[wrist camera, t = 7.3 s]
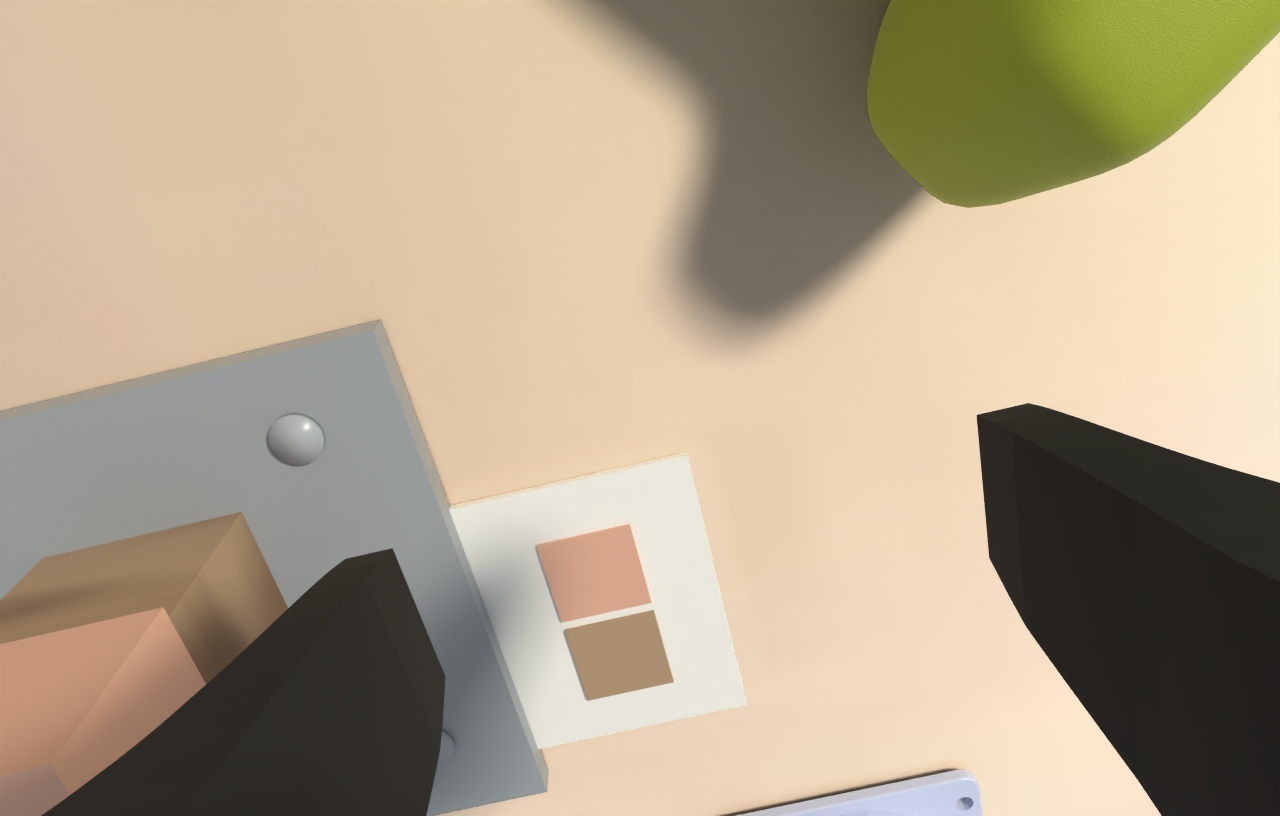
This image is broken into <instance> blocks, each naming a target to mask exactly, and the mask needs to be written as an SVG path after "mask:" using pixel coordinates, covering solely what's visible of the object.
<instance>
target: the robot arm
mask: <svg viewBox="0 0 1280 816" xmlns="http://www.w3.org/2000/svg"><path fill="white" fill-rule="evenodd" d="M977 424H978V435H979V446H980V458H981V469H982V480H983V491H984V503H985V514H986V525H987V536H988V548H989V558H990V560H991V562H992V564H993V566H994V568H995V570H996V571H997V573H998V575H999V577H1000V579H1001V581H1002V583H1003V585H1004V587H1005V589H1006V591H1007V593H1008V595H1009V597H1010V598H1011V600H1012V602H1013V604H1014V606H1015V607H1016V609H1017V611H1018V613H1019V615H1020V616H1021V618H1022V620H1023V622H1024V624H1025V625H1026V627H1027V628H1028V630H1029V631H1030V633H1031V634H1032V635H1033V637H1034V638H1035V640H1036V641H1037V643H1038V644H1039V645H1040V647H1041V648H1042V650H1043V651H1044V652H1045V654H1046V655H1047V656H1048V658H1049V659H1050V661H1051V662H1052V663H1053V665H1054V666H1055V668H1056V669H1057V670H1058V672H1059V673H1060V674H1061V676H1062V677H1063V679H1064V680H1065V681H1066V683H1067V684H1068V685H1069V687H1070V688H1071V690H1072V691H1073V692H1074V694H1075V695H1076V696H1077V698H1078V699H1079V700H1080V702H1081V703H1082V705H1083V706H1084V707H1085V709H1086V710H1087V711H1088V713H1089V714H1090V715H1091V717H1092V718H1093V719H1094V721H1095V722H1096V724H1097V725H1098V726H1099V728H1100V729H1101V730H1102V732H1103V733H1104V734H1105V736H1106V737H1107V739H1108V740H1109V741H1110V743H1111V744H1112V745H1113V747H1114V748H1115V749H1116V751H1117V752H1118V754H1119V755H1120V756H1121V758H1122V759H1123V760H1124V762H1125V763H1126V764H1127V766H1128V767H1129V769H1130V770H1131V771H1132V773H1133V774H1134V775H1135V777H1136V778H1137V779H1138V781H1139V782H1140V784H1141V785H1142V787H1143V788H1144V790H1145V791H1146V793H1147V794H1148V796H1149V797H1150V799H1151V800H1152V802H1153V803H1154V805H1155V806H1156V808H1157V809H1158V811H1159V812H1160V814H1161V815H1162V816H1280V483H1278V482H1275V481H1271V480H1268V479H1264V478H1261V477H1257V476H1254V475H1250V474H1247V473H1243V472H1240V471H1236V470H1233V469H1229V468H1226V467H1222V466H1219V465H1216V464H1213V463H1210V462H1206V461H1203V460H1200V459H1197V458H1194V457H1191V456H1188V455H1184V454H1181V453H1178V452H1175V451H1172V450H1169V449H1166V448H1163V447H1160V446H1157V445H1155V444H1152V443H1149V442H1146V441H1143V440H1140V439H1137V438H1134V437H1131V436H1128V435H1125V434H1123V433H1120V432H1117V431H1114V430H1111V429H1108V428H1105V427H1103V426H1100V425H1097V424H1094V423H1091V422H1088V421H1085V420H1083V419H1080V418H1077V417H1074V416H1071V415H1068V414H1065V413H1062V412H1059V411H1055V410H1052V409H1049V408H1045V407H1042V406H1038V405H1034V404H1029V403H1028V404H1023V405H1019V406H1014V407H1010V408H1006V409H1001V410H997V411H992V412H988V413H984V414H979V415H977ZM445 678H446V677H445V674H444V672H443V669H442V667H441V665H440V662H439V660H438V657H437V655H436V652H435V650H434V648H433V645H432V643H431V640H430V638H429V635H428V633H427V631H426V628H425V626H424V623H423V621H422V618H421V616H420V614H419V611H418V609H417V606H416V604H415V601H414V599H413V597H412V594H411V592H410V589H409V587H408V584H407V582H406V580H405V577H404V575H403V572H402V570H401V567H400V565H399V563H398V560H397V558H396V555H395V553H394V550H393V548H391V549H386V550H382V551H378V552H373V553H369V554H364V555H360V556H356V557H351V558H347V559H344V560H343V561H342V562H340V563H339V564H338V565H336V566H335V567H334V568H332V569H331V570H330V571H329V572H328V573H326V574H325V575H324V576H323V577H322V578H321V579H320V580H318V581H317V582H316V583H315V584H314V585H313V586H312V587H311V588H310V589H308V590H307V591H306V592H305V593H304V594H303V595H302V596H301V597H300V598H299V599H298V600H297V601H296V602H294V603H293V604H292V605H291V606H290V607H289V608H288V609H287V610H286V611H285V612H284V613H283V614H282V615H281V616H280V617H279V618H278V619H277V620H275V621H274V622H273V623H272V624H271V625H270V626H269V627H268V628H267V629H266V630H265V631H264V632H263V633H262V634H261V635H260V636H258V637H257V638H256V639H255V640H254V641H253V642H252V643H251V644H250V645H249V646H248V647H247V648H246V649H245V650H244V651H243V652H241V653H240V654H239V655H238V656H237V657H236V658H235V659H234V660H233V661H232V662H231V663H230V664H229V665H228V666H226V667H225V668H224V669H223V670H222V671H221V672H220V673H218V674H217V675H216V676H215V677H214V678H213V679H212V680H211V681H209V682H208V683H207V684H206V685H205V686H204V687H203V688H201V689H200V690H199V691H198V692H197V693H196V694H195V695H193V696H192V697H191V698H190V699H189V700H188V701H187V702H186V703H184V704H183V705H182V706H181V707H180V708H179V709H178V710H176V711H175V712H174V713H173V714H172V715H171V716H170V717H168V718H167V719H166V720H165V721H164V722H163V723H162V724H160V725H159V726H158V727H157V728H156V729H154V730H153V731H152V732H151V733H150V734H148V735H147V736H146V737H145V738H144V739H142V740H141V741H140V742H139V743H137V744H136V745H135V746H134V747H132V748H131V749H130V750H129V751H127V752H126V753H125V754H124V755H122V756H121V757H120V758H119V759H117V760H116V761H115V762H113V763H112V764H111V765H109V766H108V767H107V768H105V769H104V770H103V771H101V772H100V773H99V774H97V775H96V776H95V777H93V778H92V779H91V780H89V781H88V782H87V783H85V784H84V785H83V786H81V787H80V788H79V789H78V790H76V791H75V792H74V793H72V794H71V795H69V796H68V797H67V798H65V799H64V800H63V801H61V802H60V803H58V804H57V805H56V806H54V807H53V808H51V809H50V810H49V811H47V812H46V813H44V814H43V815H41V816H426V815H427V811H428V806H429V801H430V797H431V792H432V788H433V783H434V778H435V774H436V769H437V764H438V759H439V754H440V746H441V735H442V724H443V711H444V694H445ZM963 797H965V798H963ZM961 798H963V799H961ZM959 799H960V800H959ZM736 816H983V813H982V804H981V795H980V786H979V784H978V782H977V780H976V778H975V776H974V774H973V773H972V772H970V771H968V770H964V769H962V770H954V771H949V772H944V773H939V774H934V775H929V776H925V777H920V778H915V779H910V780H905V781H900V782H896V783H891V784H886V785H881V786H876V787H871V788H867V789H862V790H857V791H852V792H847V793H842V794H838V795H833V796H828V797H823V798H818V799H813V800H808V801H804V802H799V803H794V804H789V805H784V806H779V807H775V808H770V809H765V810H760V811H755V812H750V813H746V814H741V815H736Z"/></svg>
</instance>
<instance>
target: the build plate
mask: <svg viewBox="0 0 1280 816" xmlns="http://www.w3.org/2000/svg"><path fill="white" fill-rule="evenodd" d="M449 509H450V504H449V501H448V498H447V496H446V493H445V490H444V487H443V485H442V482H441V479H440V477H439V474H438V471H437V469H436V466H435V463H434V461H433V458H432V455H431V452H430V450H429V447H428V444H427V442H426V439H425V436H424V434H423V431H422V428H421V426H420V423H419V420H418V418H417V415H416V412H415V409H414V407H413V404H412V401H411V399H410V396H409V393H408V391H407V388H406V385H405V383H404V380H403V377H402V374H401V372H400V369H399V366H398V364H397V361H396V358H395V356H394V353H393V350H392V348H391V345H390V342H389V340H388V337H387V334H386V331H385V329H384V326H383V323H382V321H381V319H379V320H375V321H371V322H367V323H363V324H359V325H355V326H350V327H346V328H342V329H338V330H334V331H330V332H326V333H321V334H317V335H313V336H309V337H305V338H301V339H297V340H293V341H288V342H284V343H280V344H276V345H272V346H268V347H264V348H260V349H255V350H251V351H247V352H243V353H239V354H235V355H231V356H226V357H222V358H218V359H214V360H210V361H206V362H202V363H198V364H193V365H189V366H185V367H181V368H177V369H173V370H169V371H164V372H160V373H156V374H152V375H148V376H144V377H140V378H136V379H131V380H127V381H123V382H119V383H115V384H111V385H107V386H102V387H98V388H94V389H90V390H86V391H82V392H78V393H74V394H69V395H65V396H61V397H57V398H53V399H49V400H45V401H41V402H36V403H32V404H28V405H24V406H20V407H16V408H12V409H7V410H3V411H0V600H1V599H2V598H3V597H4V596H5V595H6V594H7V593H8V592H9V591H10V590H11V589H12V588H13V587H14V586H15V585H16V584H17V583H18V582H19V581H20V580H21V579H22V578H23V577H24V576H25V575H26V574H27V573H28V572H29V571H30V570H31V569H32V568H33V567H34V566H35V565H36V564H37V563H38V562H39V561H40V560H41V559H42V558H45V557H49V556H53V555H58V554H62V553H66V552H71V551H75V550H79V549H84V548H88V547H92V546H97V545H101V544H105V543H109V542H114V541H118V540H122V539H127V538H131V537H135V536H140V535H144V534H148V533H153V532H157V531H161V530H165V529H170V528H174V527H178V526H183V525H187V524H191V523H196V522H200V521H204V520H209V519H213V518H217V517H221V516H226V515H230V514H234V513H239V512H242V514H243V516H244V518H245V520H246V522H247V524H248V526H249V528H250V530H251V532H252V534H253V536H254V538H255V540H256V543H257V545H258V547H259V549H260V551H261V553H262V555H263V557H264V559H265V561H266V563H267V565H268V567H269V569H270V571H271V574H272V576H273V578H274V580H275V582H276V584H277V586H278V588H279V590H280V592H281V594H282V596H283V598H284V600H285V602H286V605H287V607H288V608H289V607H290V606H291V605H292V604H293V603H294V602H296V601H297V600H298V599H299V598H300V597H301V596H302V595H303V594H304V593H305V592H306V591H307V590H308V589H310V588H311V587H312V586H313V585H314V584H315V583H316V582H317V581H318V580H320V579H321V578H322V577H323V576H324V575H325V574H326V573H328V572H329V571H330V570H331V569H332V568H334V567H335V566H336V565H338V564H339V563H340V562H342V561H343V560H344V559H347V558H351V557H356V556H360V555H364V554H369V553H373V552H378V551H382V550H386V549H391V548H393V550H394V553H395V555H396V558H397V560H398V563H399V565H400V567H401V570H402V572H403V575H404V577H405V580H406V582H407V584H408V587H409V589H410V592H411V594H412V597H413V599H414V601H415V604H416V606H417V609H418V611H419V614H420V616H421V618H422V621H423V623H424V626H425V628H426V631H427V633H428V635H429V638H430V640H431V643H432V645H433V648H434V650H435V652H436V655H437V657H438V660H439V662H440V665H441V667H442V669H443V672H444V674H445V677H446V678H445V694H444V711H443V724H442V735H441V746H440V754H439V759H438V764H437V769H436V774H435V778H434V783H433V788H432V792H431V797H430V801H429V806H428V811H427V815H426V816H434V815H439V814H444V813H448V812H453V811H458V810H463V809H467V808H472V807H477V806H482V805H486V804H491V803H496V802H500V801H505V800H510V799H515V798H519V797H524V796H529V795H534V794H538V793H543V792H547V785H548V767H547V764H546V762H545V759H544V756H543V754H542V751H541V749H538V747H537V744H536V741H535V739H534V736H533V733H532V731H531V728H530V725H529V723H528V720H527V717H526V714H525V712H524V709H523V706H522V704H521V701H520V698H519V696H518V693H517V690H516V688H515V685H514V682H513V680H512V677H511V674H510V672H509V669H508V666H507V664H506V661H505V658H504V656H503V653H502V650H501V648H500V645H499V642H498V639H497V637H496V634H495V631H494V629H493V626H492V623H491V621H490V618H489V615H488V613H487V610H486V607H485V605H484V602H483V599H482V597H481V594H480V591H479V589H478V586H477V583H476V581H475V578H474V575H473V573H472V570H471V567H470V564H469V562H468V559H467V556H466V554H465V551H464V548H463V546H462V543H461V540H460V538H459V535H458V532H457V530H456V527H455V524H454V522H453V519H452V516H451V514H450V511H449Z"/></svg>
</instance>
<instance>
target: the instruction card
mask: <svg viewBox="0 0 1280 816" xmlns="http://www.w3.org/2000/svg"><path fill="white" fill-rule="evenodd" d="M449 511H450V514H451V516H452V519H453V522H454V524H455V527H456V530H457V532H458V535H459V538H460V540H461V543H462V546H463V548H464V551H465V554H466V556H467V559H468V562H469V564H470V567H471V570H472V573H473V575H474V578H475V581H476V583H477V586H478V589H479V591H480V594H481V597H482V599H483V602H484V605H485V607H486V610H487V613H488V615H489V618H490V621H491V623H492V626H493V629H494V631H495V634H496V637H497V639H498V642H499V645H500V648H501V650H502V653H503V656H504V658H505V661H506V664H507V666H508V669H509V672H510V674H511V677H512V680H513V682H514V685H515V688H516V690H517V693H518V696H519V698H520V701H521V704H522V706H523V709H524V712H525V714H526V717H527V720H528V723H529V725H530V728H531V731H532V733H533V736H534V739H535V741H536V744H537V747H538V749H543V748H547V747H552V746H557V745H561V744H566V743H571V742H575V741H580V740H585V739H589V738H594V737H599V736H603V735H608V734H613V733H617V732H622V731H627V730H632V729H636V728H641V727H646V726H650V725H655V724H660V723H664V722H669V721H674V720H678V719H683V718H688V717H692V716H697V715H702V714H707V713H711V712H716V711H721V710H725V709H730V708H735V707H739V706H744V705H748V704H747V700H746V696H745V691H744V687H743V683H742V679H741V675H740V671H739V666H738V662H737V658H736V654H735V650H734V646H733V641H732V637H731V633H730V629H729V625H728V621H727V616H726V612H725V608H724V604H723V600H722V595H721V591H720V587H719V583H718V579H717V575H716V570H715V566H714V562H713V558H712V554H711V550H710V545H709V541H708V537H707V533H706V529H705V525H704V520H703V516H702V512H701V508H700V504H699V500H698V495H697V491H696V487H695V483H694V479H693V474H692V470H691V466H690V462H689V458H688V454H687V452H684V453H680V454H675V455H671V456H667V457H662V458H658V459H654V460H649V461H645V462H640V463H636V464H632V465H627V466H623V467H619V468H614V469H610V470H606V471H601V472H597V473H593V474H588V475H584V476H579V477H575V478H571V479H566V480H562V481H558V482H553V483H549V484H545V485H540V486H536V487H532V488H527V489H523V490H518V491H514V492H510V493H505V494H501V495H497V496H492V497H488V498H484V499H479V500H475V501H471V502H466V503H462V504H457V505H453V506H450V509H449Z"/></svg>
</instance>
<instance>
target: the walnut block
mask: <svg viewBox="0 0 1280 816" xmlns="http://www.w3.org/2000/svg"><path fill="white" fill-rule="evenodd" d="M162 607H164V609H165V611H166V613H167V614H168V616H169V618H170V620H171V622H172V624H173V625H174V627H175V629H176V631H177V633H178V634H179V636H180V638H181V640H182V642H183V643H184V645H185V647H186V649H187V651H188V652H189V654H190V656H191V658H192V660H193V661H194V663H195V665H196V667H197V669H198V670H199V672H200V674H201V676H202V678H203V680H204V681H205V683H206V684H207V683H208V682H209V681H211V680H212V679H213V678H214V677H215V676H216V675H217V674H218V673H220V672H221V671H222V670H223V669H224V668H225V667H226V666H228V665H229V664H230V663H231V662H232V661H233V660H234V659H235V658H236V657H237V656H238V655H239V654H240V653H241V652H243V651H244V650H245V649H246V648H247V647H248V646H249V645H250V644H251V643H252V642H253V641H254V640H255V639H256V638H257V637H258V636H260V635H261V634H262V633H263V632H264V631H265V630H266V629H267V628H268V627H269V626H270V625H271V624H272V623H273V622H274V621H275V620H277V619H278V618H279V617H280V616H281V615H282V614H283V613H284V612H285V611H286V610H287V609H288V607H287V605H286V602H285V600H284V598H283V596H282V594H281V592H280V590H279V588H278V586H277V584H276V582H275V580H274V578H273V576H272V574H271V571H270V569H269V567H268V565H267V563H266V561H265V559H264V557H263V555H262V553H261V551H260V549H259V547H258V545H257V543H256V540H255V538H254V536H253V534H252V532H251V530H250V528H249V526H248V524H247V522H246V520H245V518H244V516H243V514H242V512H239V513H234V514H230V515H226V516H221V517H217V518H213V519H209V520H204V521H200V522H196V523H191V524H187V525H183V526H178V527H174V528H170V529H165V530H161V531H157V532H153V533H148V534H144V535H140V536H135V537H131V538H127V539H122V540H118V541H114V542H109V543H105V544H101V545H97V546H92V547H88V548H84V549H79V550H75V551H71V552H66V553H62V554H58V555H53V556H49V557H45V558H42V559H41V560H40V561H39V562H38V563H37V564H36V565H35V566H34V567H33V568H32V569H31V570H30V571H29V572H28V573H27V574H26V575H25V576H24V577H23V578H22V579H21V580H20V581H19V582H18V583H17V584H16V585H15V586H14V587H13V588H12V589H11V590H10V591H9V592H8V593H7V594H6V595H5V596H4V597H3V598H2V599H1V600H0V644H4V643H8V642H12V641H17V640H21V639H26V638H30V637H34V636H39V635H43V634H48V633H52V632H56V631H61V630H65V629H70V628H74V627H78V626H83V625H87V624H92V623H96V622H100V621H105V620H109V619H114V618H118V617H122V616H127V615H131V614H135V613H140V612H144V611H149V610H153V609H157V608H162Z"/></svg>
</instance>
